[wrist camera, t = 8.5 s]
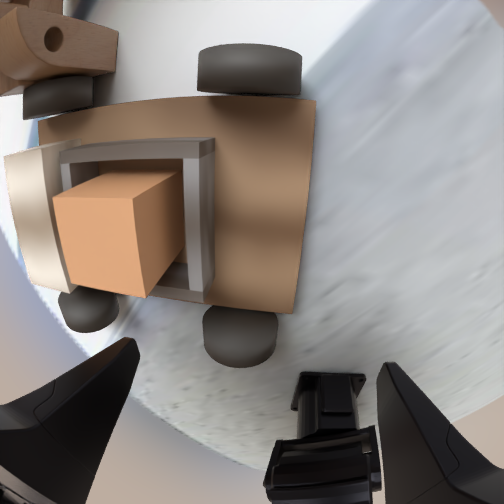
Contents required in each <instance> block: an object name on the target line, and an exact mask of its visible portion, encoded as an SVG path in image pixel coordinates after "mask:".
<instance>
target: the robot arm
mask: <svg viewBox="0 0 504 504" xmlns="http://www.w3.org/2000/svg"><path fill="white" fill-rule="evenodd" d="M139 360H140V352H139V349H138V346H137V343H136V341H135V339H133V338H129V337H124V338H122V339H120V340H119V341H117V342H115V343H114V344H112V345H110V346H109V347H107V348H105V349H104V350H102V351H101V352H99V353H97V354H96V355H94V356H92V357H91V358H89V359H87V360H86V361H84V362H82V363H81V364H79V365H78V366H76V367H74V368H73V369H71V370H69V371H68V372H66V373H64V374H63V375H61V376H59V377H58V378H56V379H54V380H53V381H51V382H49V383H48V384H46V385H44V386H43V387H41V388H39V389H37V390H35V391H33V392H31V393H29V394H27V395H25V396H22V397H20V398H18V399H16V400H14V401H12V402H10V403H7V404H4V405H0V504H85V503H86V500H87V497H88V494H89V492H90V489H91V486H92V483H93V480H94V478H95V475H96V472H97V470H98V467H99V464H100V462H101V459H102V457H103V454H104V452H105V449H106V446H107V444H108V442H109V439H110V437H111V434H112V432H113V429H114V427H115V425H116V422H117V420H118V418H119V415H120V413H121V410H122V408H123V406H124V403H125V401H126V399H127V397H128V394H129V392H130V389H131V386H132V383H133V379H134V376H135V373H136V370H137V367H138V364H139ZM365 381H366V376H365V375H364V374H342V373H319V372H301V373H300V374H299V378H298V382H297V386H296V389H295V393H294V397H293V400H292V404H291V410H293V411H298V425H297V439H292V440H283V439H282V440H276V443H275V447H274V448H273V451H272V454H271V458H270V461H269V465H268V468H267V471H266V475H265V479H264V481H263V486H264V487H265V488H266V493H267V497H268V499H269V501H270V502H272V504H373V499H372V492H376V491H381V489H382V483H381V468H380V459H379V451H378V444H377V437H376V431H375V425H372V426H369V427H367V428H363V429H360V427H359V418H358V409H357V401H356V398H357V397H358V395H359V393H360V391H361V389H362V387H363V385H364V383H365ZM376 384H377V411H378V425H379V433H380V441H381V450H382V459H383V470H384V482H385V500H386V504H504V469H501V468H499V467H497V466H495V465H493V464H492V463H491V462H490V461H489V460H488V459H486V458H485V457H484V456H483V455H482V454H481V453H480V452H479V451H478V450H477V449H475V448H474V447H473V446H472V445H471V444H470V443H469V442H468V441H467V440H466V439H465V438H464V437H463V436H462V435H461V434H460V433H459V432H458V430H456V428H455V427H454V426H453V425H452V424H450V422H449V420H448V419H447V418H446V417H445V416H444V415H443V414H442V413H441V411H440V410H439V409H438V408H437V407H436V406H435V405H434V404H433V403H432V401H431V400H430V399H429V398H428V397H427V396H426V395H425V394H424V393H423V391H422V390H421V389H420V388H419V387H418V386H417V385H416V384H415V383H414V382H413V381H412V379H411V378H410V377H409V376H408V375H407V374H406V373H405V372H404V371H403V370H402V369H401V368H400V367H399V365H398V364H397V363H395V362H385V363H384V364H383V365H382V368H381V370H380V372H379V374H378V377H377V382H376ZM369 451H371V452H369ZM364 452H368V453H364Z"/></svg>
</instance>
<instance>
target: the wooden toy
mask: <svg viewBox="0 0 504 504" xmlns="http://www.w3.org/2000/svg"><path fill="white" fill-rule="evenodd" d="M117 40H118V31H115V30H112V29H109V28H106V27H103V26H100V25H97V24H94V23H90V22H87V21H83V20H80V19H76V18H72V17H68V16H64V15H63V0H0V97H2V96H9V95H17V94H23V90H24V89H26V88H28V87H30V86H32V85H35V84H37V83H41V82H44V81H48V80H53V79H58V78H64V77H75V76H86V77H95V76H99V75H103V74H107V73H111V72H115V67H116V52H117Z"/></svg>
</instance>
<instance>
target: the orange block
mask: <svg viewBox="0 0 504 504" xmlns="http://www.w3.org/2000/svg"><path fill="white" fill-rule="evenodd" d="M52 198H53V205H54V211H55V216H56V222H57V227H58V232H59V236H60V241H61V245H62V249H63V254H64V258H65V262H66V265H67V269H68V273H69V276H70V280H71V283H73V284H77V285H82V286H86V287H91V288H96V289H101V290H105V291H110V292H115V293H120V294H126V295H131V296H136V297H142V298H146V297H147V296H148V295H149V293H150V292H151V290H152V289H153V288H154V286H155V285H156V284H157V282H158V281H159V279H160V278H161V277H162V275H163V274H164V273H165V271H166V270H167V268H168V267H169V266H170V264H171V263H172V262H173V260H174V259H175V258H176V256H177V255H178V254H179V252H180V251H181V250H182V248H183V247H184V246H185V243H184V223H183V197H182V170H112V171H110V172H107V173H105V174H103V175H100V176H98V177H95V178H93V179H91V180H89V181H86V182H84V183H82V184H80V185H77V186H75V187H73V188H71V189H69V190H67V191H65V192H62V193H60V194H58V195H56V196H54V197H52Z"/></svg>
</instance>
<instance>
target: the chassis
mask: <svg viewBox="0 0 504 504" xmlns="http://www.w3.org/2000/svg"><path fill="white" fill-rule="evenodd" d="M301 73H302V56H301V55H300V54H299V53H297V52H295V51H292V50H289V49H286V48H282V47H277V46H271V45H263V44H244V43H242V44H225V45H218V46H213V47H209V48H206V49H204V50H202V51H200V52H199V58H198V78H197V91H201V92H209V93H226V94H251V95H299V94H300V92H301ZM92 92H93V78H91V77H86V76H75V77H64V78H58V79H53V80H48V81H44V82H41V83H37V84H35V85H32V86H30V87H28V88H26V89H24V90H23V120H28V119H34V118H40V117H45V116H50V115H55V114H60V113H65V112H70V111H75V110H80V109H84V108H89V107H92ZM315 111H316V101H314V100H304V99H294V98H281V97H264V96H192V97H175V98H162V99H152V100H143V101H134V102H127V103H120V104H113V105H107V106H101V107H96V108H91V109H86V110H81V111H76V112H72V113H67V114H63V115H59V116H55V117H51V118H47V119H44V120H40V121H38V133H39V146H36V147H32V148H29V149H26V150H22V151H19V152H16V153H13V154H10V155H7V156H4V165H5V173H6V181H7V188H8V194H9V199H10V205H11V210H12V215H13V219H14V224H15V228H16V232H17V236H18V240H19V244H20V248H21V251H22V255H23V258H24V262H25V265H26V268H27V271H28V274H29V277H30V280H31V283H32V284H35V285H39V286H43V287H46V288H50V289H54V290H58V291H61V293H60V295H59V298H58V303H59V306H60V309H61V312H62V314H63V317H64V319H65V322H66V324H67V326H68V327H69V328H70V329H72V330H73V331H76V332H80V333H91V332H95V331H99V330H101V329H103V328H105V327H107V326H108V325H110V324H111V323H112V322H113V321H114V320H115V319H116V317H117V315H118V313H119V306H118V302H117V298H116V294H115V292H110V291H105V290H101V289H96V288H91V287H86V286H82V285H77V284H73V283H71V280H70V276H69V273H68V269H67V265H66V262H65V258H64V254H63V249H62V245H61V241H60V236H59V232H58V227H57V222H56V216H55V211H54V205H53V198H52V197H54V196H56V195H58V194H60V193H62V192H65V191H67V190H69V189H71V188H73V187H75V186H77V185H80V184H82V183H84V182H86V181H89V180H91V179H93V178H95V177H98V176H100V175H103V174H105V173H107V172H110V171H112V170H182V197H183V223H184V243H185V246H184V247H183V248H182V250H181V251H180V252H179V254H178V255H177V256H176V258H175V259H174V260H173V262H172V263H171V264H170V266H169V267H168V268H167V270H166V271H165V273H164V274H163V275H162V277H161V278H160V279H159V281H158V282H157V284H156V285H155V286H154V288H153V289H152V290H151V292H150V293H149V296H155V297H162V298H168V299H174V300H181V301H188V302H194V303H202V304H209V305H213V306H211V307H210V308H209V309H208V310H207V311H206V312H205V314H204V316H203V321H202V324H203V336H204V346H205V349H206V351H207V353H208V354H209V356H210V357H211V358H212V359H214V360H215V361H217V362H218V363H220V364H223V365H225V366H229V367H234V368H247V367H253V366H256V365H259V364H261V363H263V362H264V361H266V360H267V359H268V358H269V357H270V356H271V355H272V354H273V352H274V350H275V346H276V338H277V331H278V318H277V316H276V314H275V313H274V312H277V313H287V314H292V312H293V305H294V299H295V292H296V286H297V279H298V272H299V265H300V257H301V250H302V242H303V234H304V226H305V218H306V209H307V200H308V191H309V181H310V171H311V161H312V150H313V138H314V125H315Z"/></svg>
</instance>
